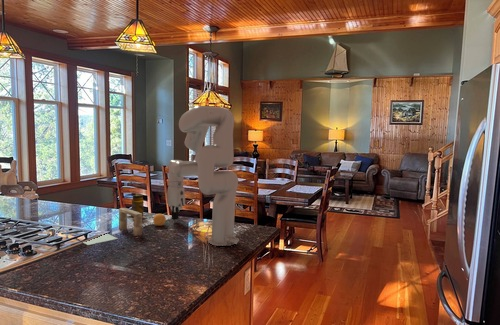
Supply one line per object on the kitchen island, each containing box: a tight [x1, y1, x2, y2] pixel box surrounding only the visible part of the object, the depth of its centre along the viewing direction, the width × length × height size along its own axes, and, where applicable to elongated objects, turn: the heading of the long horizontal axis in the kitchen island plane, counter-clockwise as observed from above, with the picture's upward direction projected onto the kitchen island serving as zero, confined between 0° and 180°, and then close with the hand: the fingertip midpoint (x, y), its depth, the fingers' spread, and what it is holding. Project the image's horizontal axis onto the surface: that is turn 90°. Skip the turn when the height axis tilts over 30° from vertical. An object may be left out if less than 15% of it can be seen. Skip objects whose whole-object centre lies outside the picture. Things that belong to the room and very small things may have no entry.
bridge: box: [118, 207, 143, 237], centre depth 165 cm, size 3×15×10 cm, turn 48°
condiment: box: [127, 194, 146, 220], centre depth 191 cm, size 7×8×12 cm
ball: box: [153, 213, 167, 227], centre depth 177 cm, size 6×6×6 cm
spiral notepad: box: [83, 233, 119, 246], centre depth 153 cm, size 13×13×1 cm
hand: (174, 218), depth 184 cm, fingers closed
